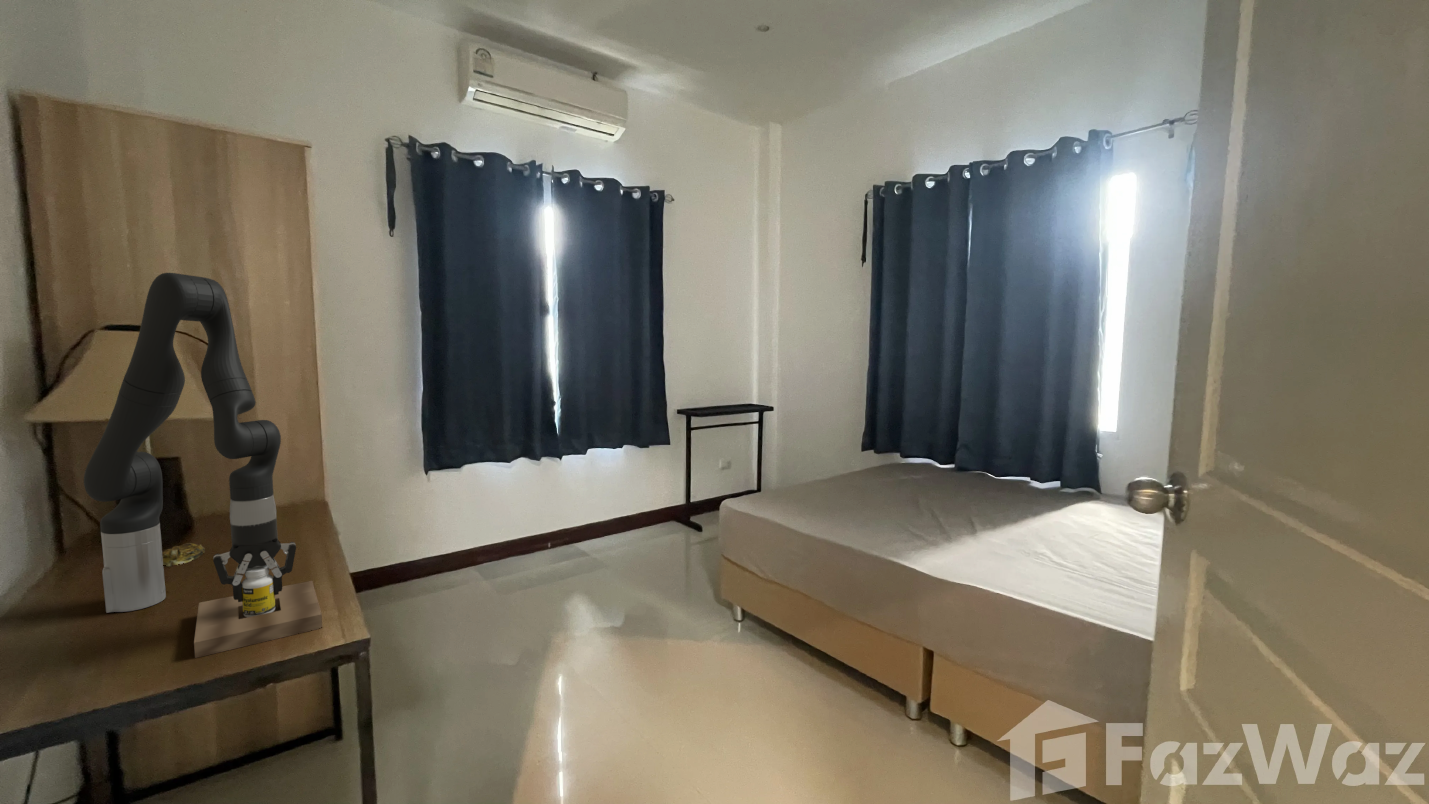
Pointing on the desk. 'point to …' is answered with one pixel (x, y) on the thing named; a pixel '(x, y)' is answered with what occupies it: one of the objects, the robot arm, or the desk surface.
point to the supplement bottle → (258, 592)
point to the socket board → (255, 620)
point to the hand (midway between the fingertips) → (258, 596)
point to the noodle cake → (182, 554)
